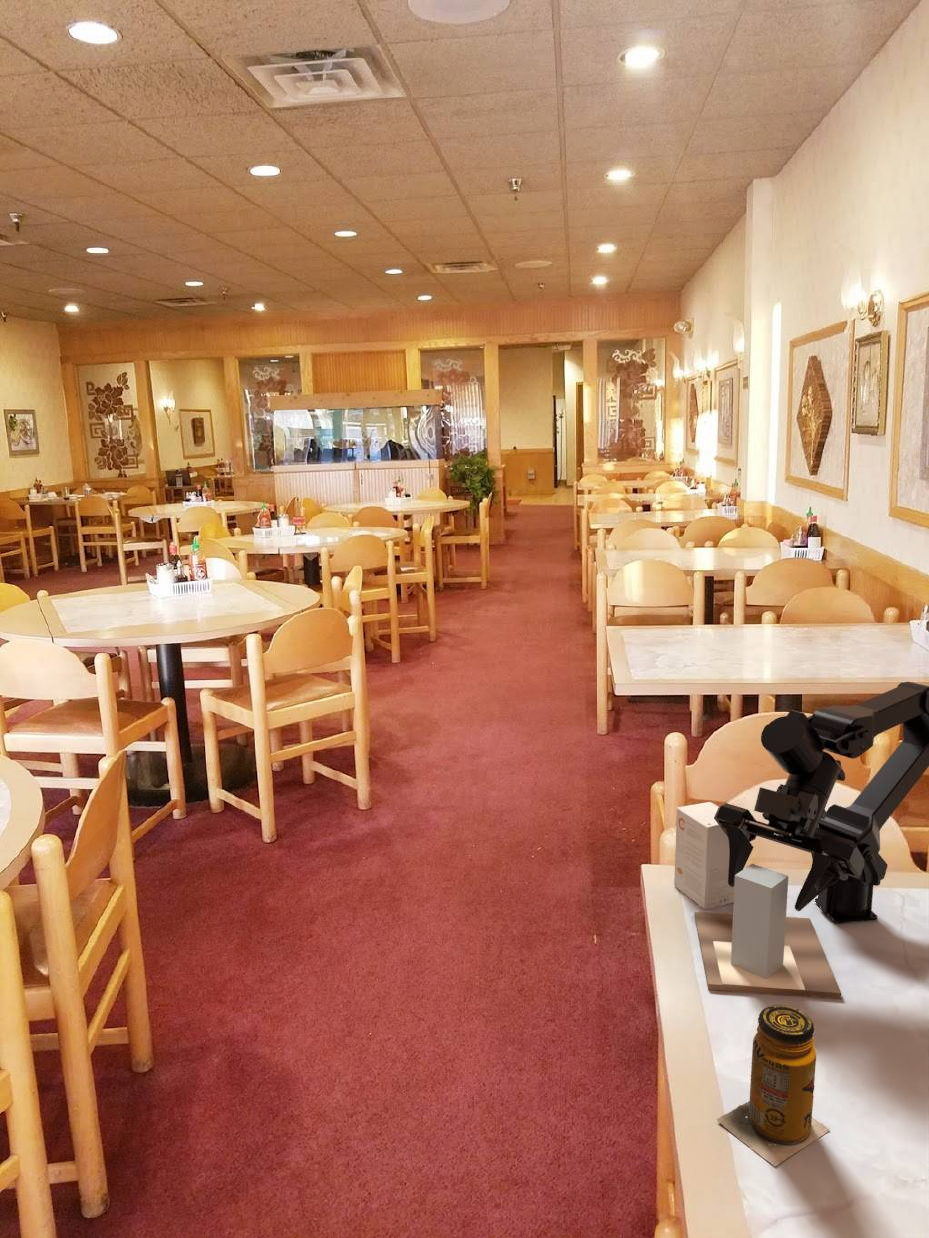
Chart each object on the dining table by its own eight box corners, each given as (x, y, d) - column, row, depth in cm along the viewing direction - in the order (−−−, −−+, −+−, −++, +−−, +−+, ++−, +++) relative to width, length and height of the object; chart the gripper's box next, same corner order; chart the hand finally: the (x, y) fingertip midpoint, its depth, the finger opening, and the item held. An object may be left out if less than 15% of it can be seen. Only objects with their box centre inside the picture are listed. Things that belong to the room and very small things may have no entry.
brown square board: (694, 916, 135) (694, 911, 135) (809, 923, 133) (810, 917, 132) (708, 989, 118) (708, 983, 117) (841, 998, 115) (841, 992, 115)
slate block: (747, 950, 125) (752, 863, 122) (783, 964, 121) (788, 875, 119) (730, 963, 121) (734, 875, 119) (766, 979, 118) (771, 888, 115)
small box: (739, 902, 139) (743, 820, 136) (704, 910, 137) (707, 827, 134) (707, 878, 146) (710, 800, 144) (672, 885, 144) (675, 806, 142)
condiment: (830, 1131, 94) (837, 1024, 91) (774, 1168, 89) (781, 1057, 87) (770, 1089, 100) (776, 988, 97) (716, 1122, 95) (720, 1017, 93)
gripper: (723, 746, 127) (676, 848, 121) (861, 781, 114) (815, 897, 108) (749, 785, 134) (706, 883, 128) (882, 821, 121) (840, 932, 115)
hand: (762, 897), depth 120 cm, fingers open, 9 cm apart
